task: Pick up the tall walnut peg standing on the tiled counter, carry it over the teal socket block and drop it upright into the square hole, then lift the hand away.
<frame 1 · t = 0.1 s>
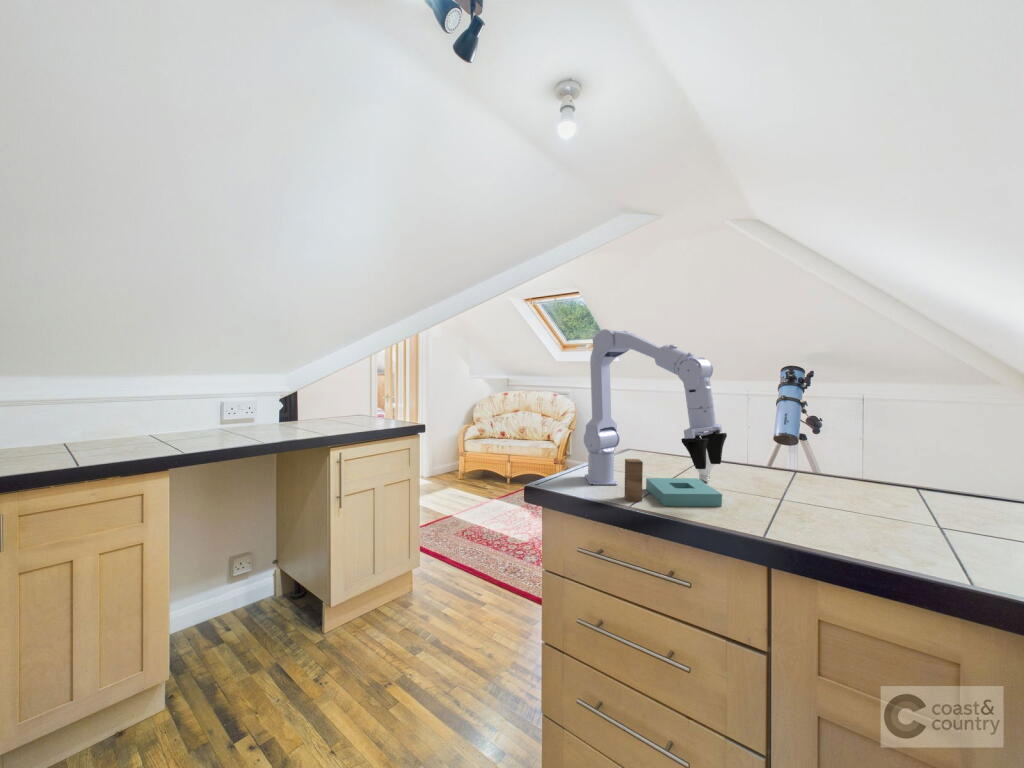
hand: (708, 466, 98), 11 cm above the worktop, tool pointing down, fingers open, 7 cm apart
light bulb: (704, 482, 122), on the worktop
socket block: (681, 497, 109), on the worktop
peg: (633, 499, 107), on the worktop
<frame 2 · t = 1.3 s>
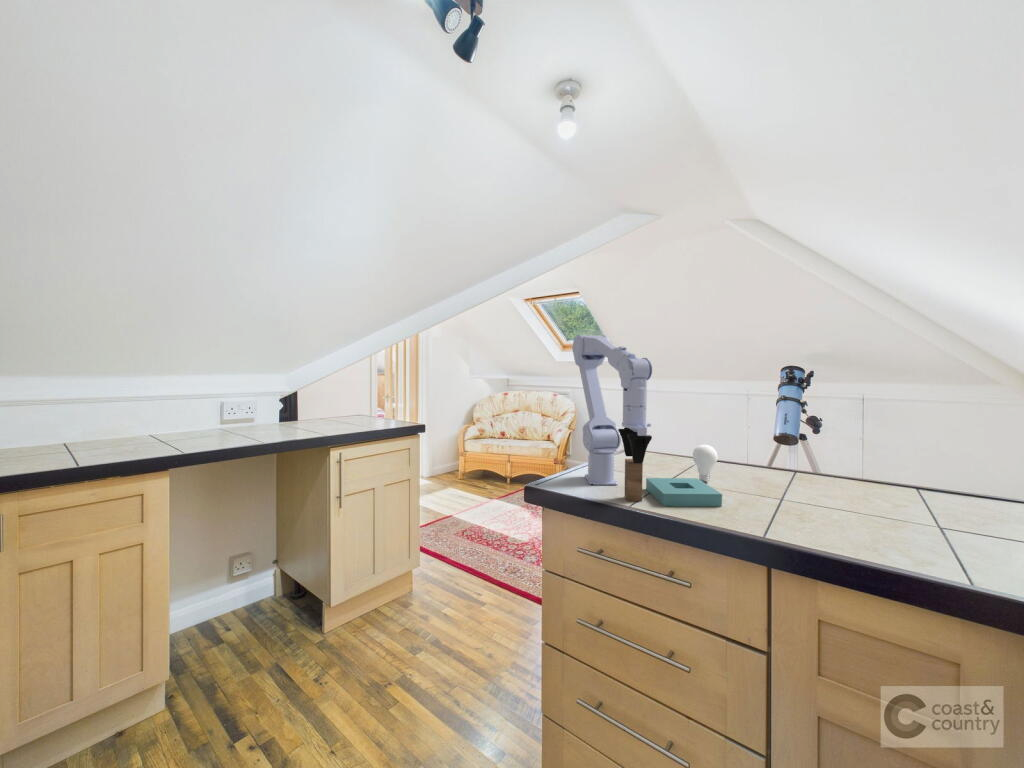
hand: (633, 459, 106), 10 cm above the worktop, tool pointing down, fingers open, 7 cm apart
nothing on the worktop moved.
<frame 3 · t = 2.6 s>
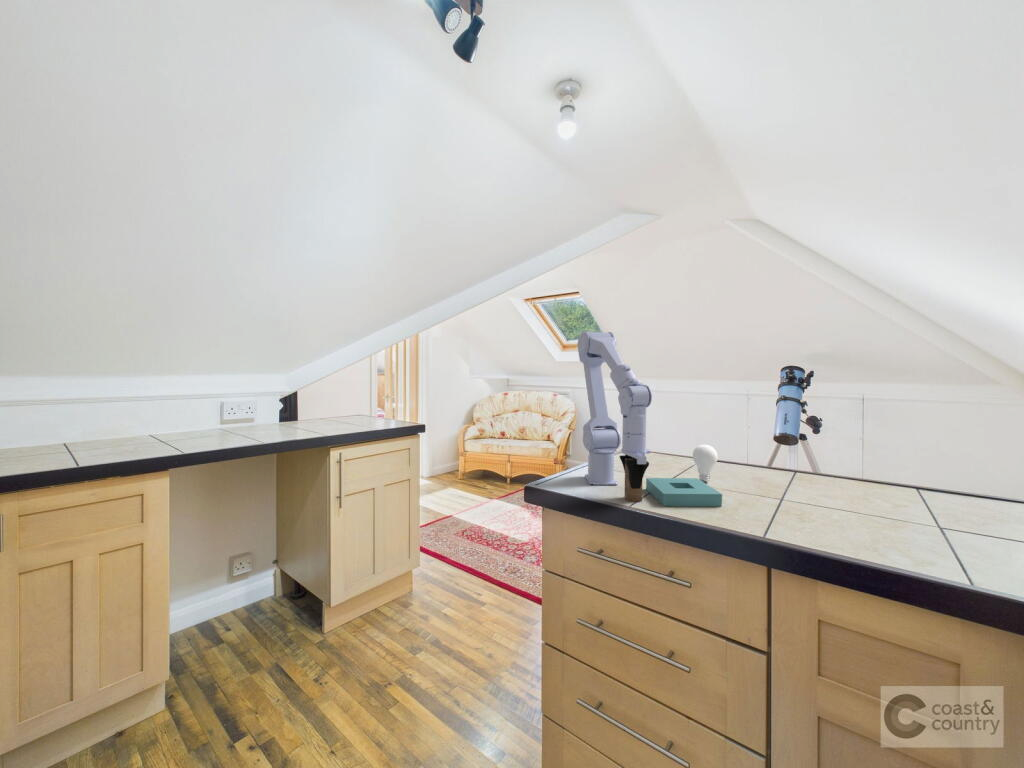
hand: (633, 485, 107), 3 cm above the worktop, tool pointing down, fingers closed on peg, 3 cm apart
peg: (633, 499, 107), on the worktop, touching gripper
everything else where it was.
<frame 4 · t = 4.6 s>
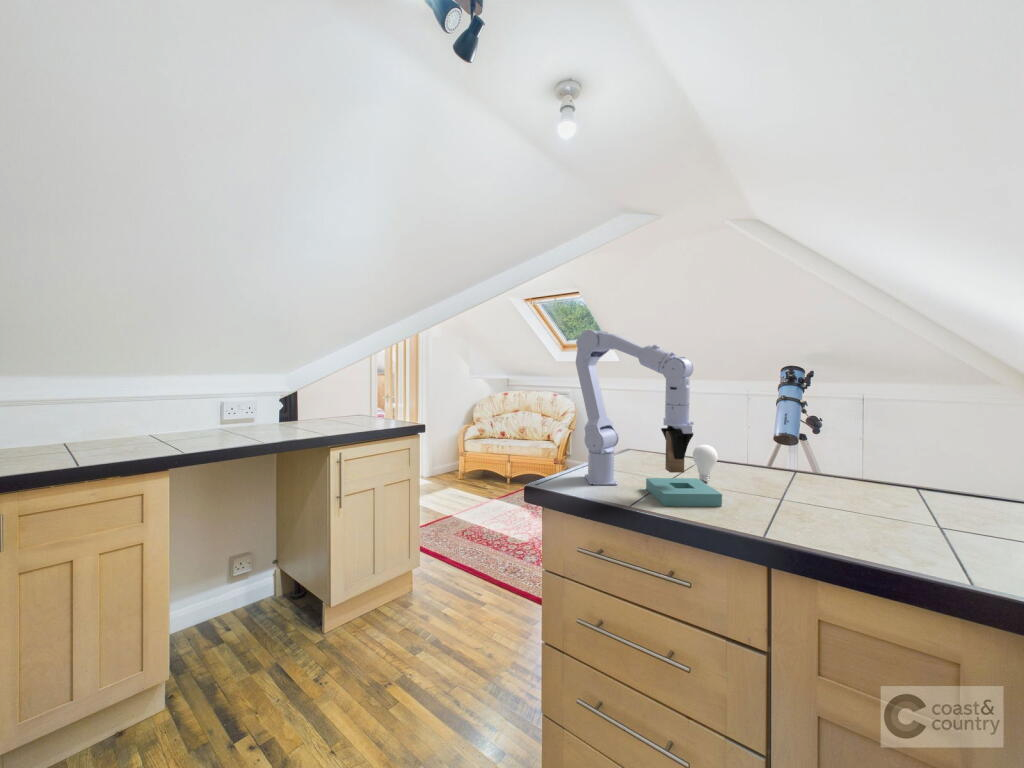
hand: (676, 457, 108), 10 cm above the worktop, tool pointing down, fingers closed on peg, 3 cm apart
peg: (674, 470, 108), point 7 cm above the worktop, touching gripper
everything else where it was.
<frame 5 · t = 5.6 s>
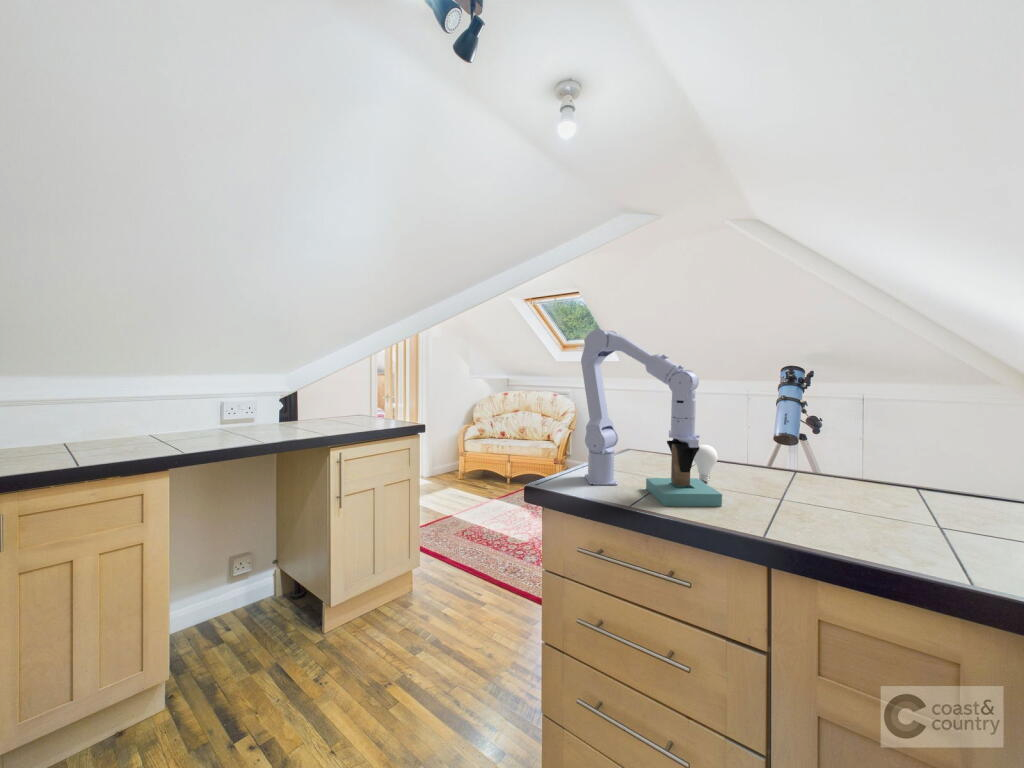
hand: (682, 470, 108), 7 cm above the worktop, tool pointing down, fingers closed on peg, 3 cm apart
peg: (680, 483, 108), point 4 cm above the worktop, touching gripper
everything else where it was.
when the fingers open (4 cm above the worktop, at t = 6.6 s): peg stays where it is, resting in socket block.
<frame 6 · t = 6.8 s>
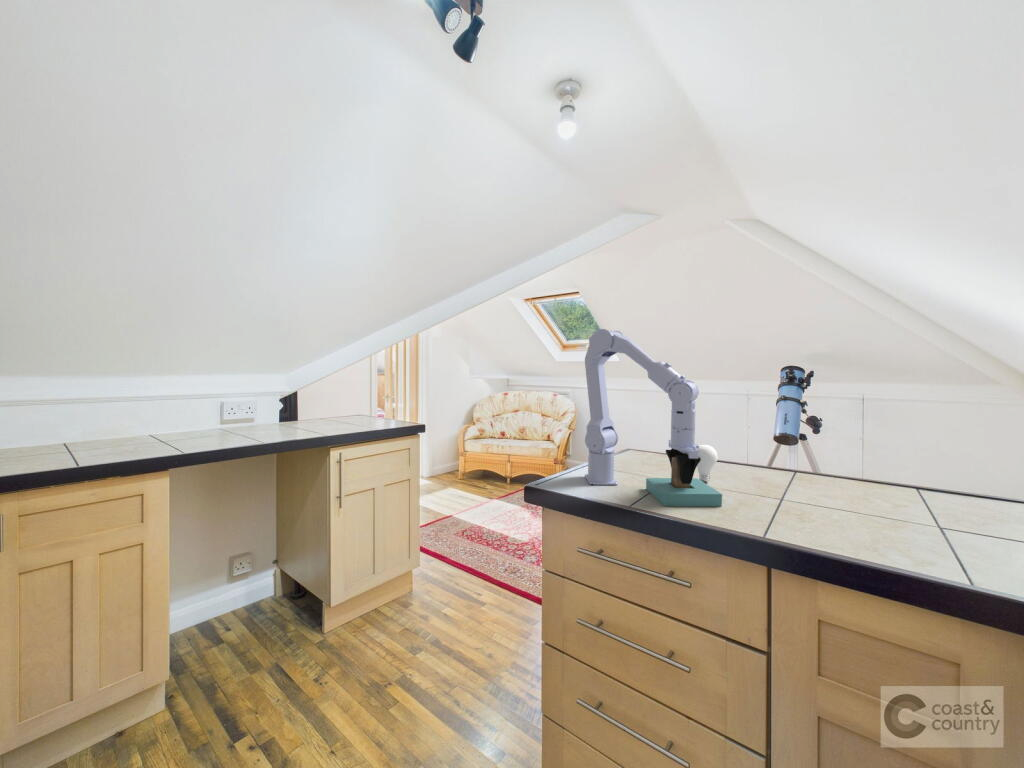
hand: (681, 480, 108), 4 cm above the worktop, tool pointing down, fingers open, 5 cm apart
peg: (680, 497, 109), resting in socket block
everything else where it was.
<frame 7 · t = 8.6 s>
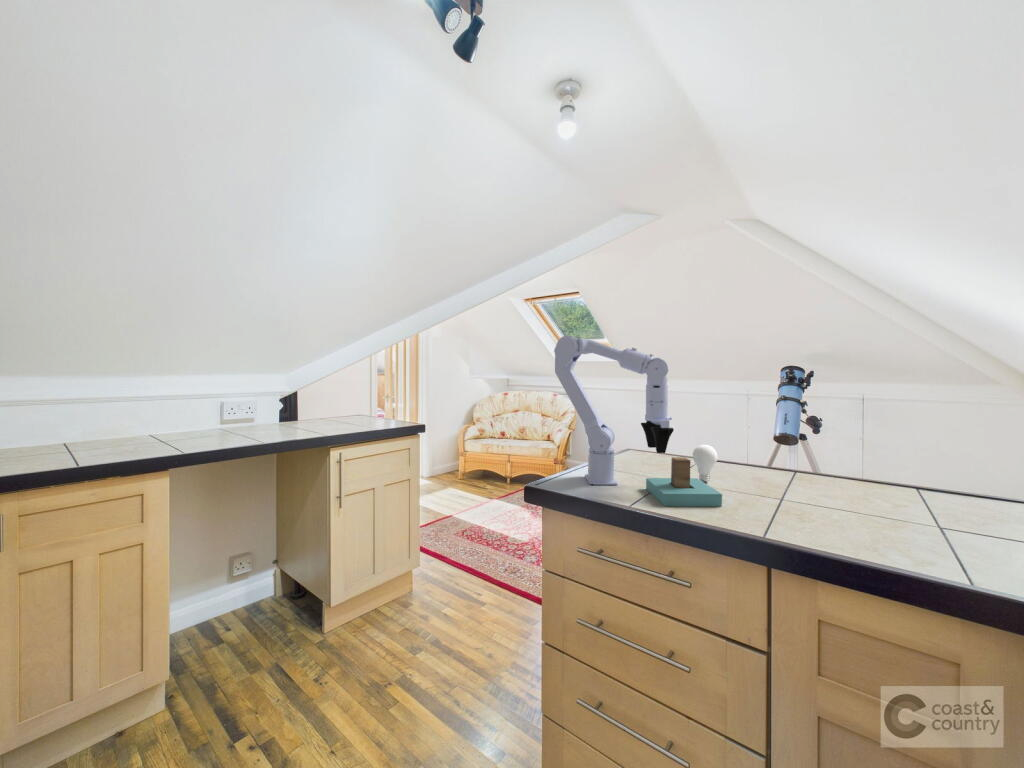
hand: (656, 450, 117), 10 cm above the worktop, tool pointing down, fingers open, 7 cm apart
nothing on the worktop moved.
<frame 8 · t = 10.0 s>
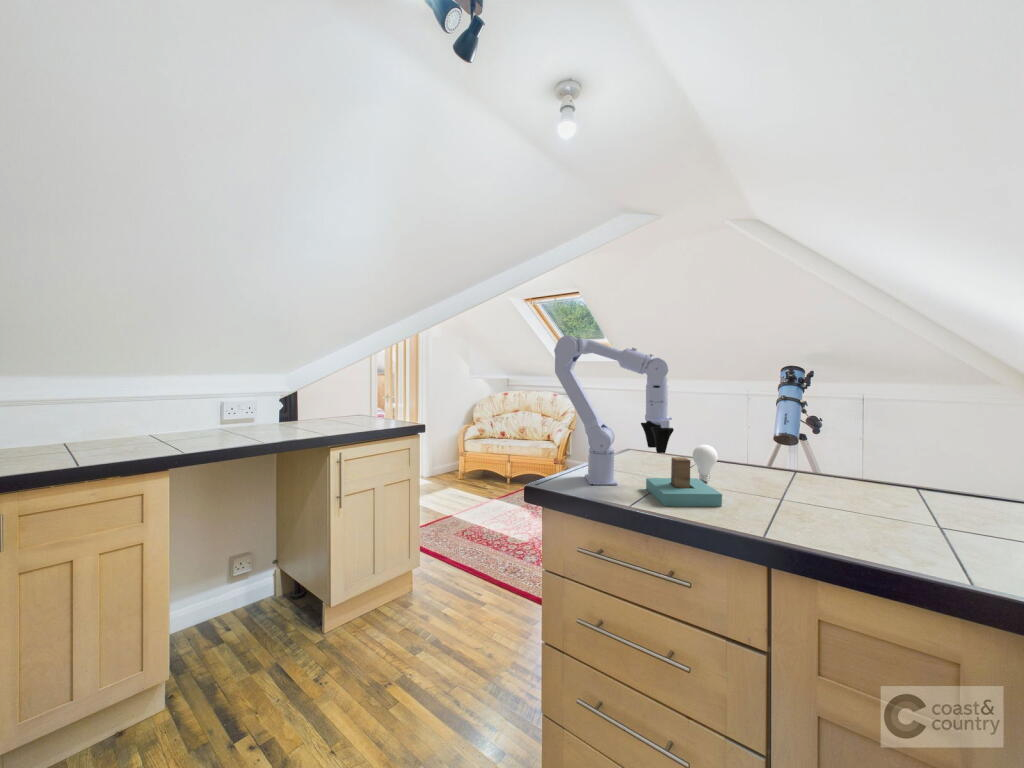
hand: (656, 450, 117), 10 cm above the worktop, tool pointing down, fingers open, 7 cm apart
nothing on the worktop moved.
at the end: peg 0.3 cm off-centre on the socket block, point 0.0 cm above the socket block's base; peg tilted 0°; the gripper is holding nothing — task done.
